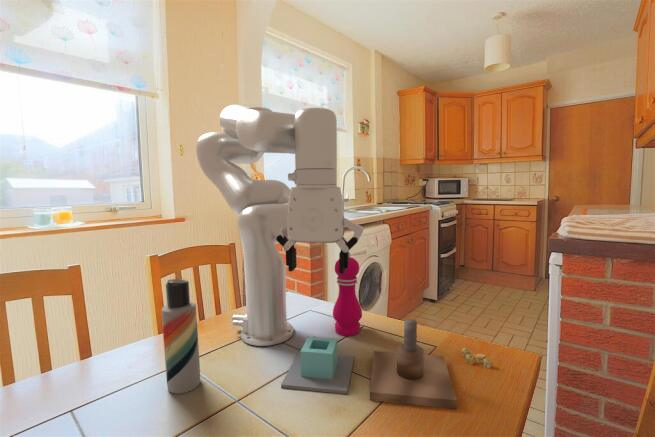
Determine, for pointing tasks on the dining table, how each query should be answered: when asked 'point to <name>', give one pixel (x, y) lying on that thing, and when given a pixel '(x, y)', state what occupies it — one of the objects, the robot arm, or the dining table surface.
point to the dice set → (479, 358)
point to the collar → (319, 358)
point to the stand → (411, 375)
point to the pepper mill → (347, 301)
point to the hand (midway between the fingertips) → (317, 270)
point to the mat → (319, 384)
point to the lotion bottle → (180, 338)
